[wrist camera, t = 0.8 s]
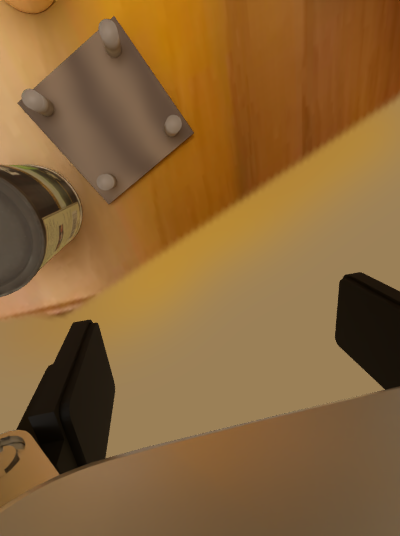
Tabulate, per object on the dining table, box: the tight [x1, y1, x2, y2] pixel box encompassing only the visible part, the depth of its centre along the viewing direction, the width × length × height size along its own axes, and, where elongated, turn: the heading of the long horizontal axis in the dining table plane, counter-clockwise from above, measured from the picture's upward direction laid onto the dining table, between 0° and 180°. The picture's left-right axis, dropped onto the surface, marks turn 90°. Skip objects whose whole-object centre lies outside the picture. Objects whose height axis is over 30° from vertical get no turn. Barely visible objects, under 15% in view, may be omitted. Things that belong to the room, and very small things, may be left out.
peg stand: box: [18, 17, 194, 204], centre depth 29 cm, size 13×13×6 cm
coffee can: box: [0, 165, 82, 297], centre depth 27 cm, size 10×10×14 cm
